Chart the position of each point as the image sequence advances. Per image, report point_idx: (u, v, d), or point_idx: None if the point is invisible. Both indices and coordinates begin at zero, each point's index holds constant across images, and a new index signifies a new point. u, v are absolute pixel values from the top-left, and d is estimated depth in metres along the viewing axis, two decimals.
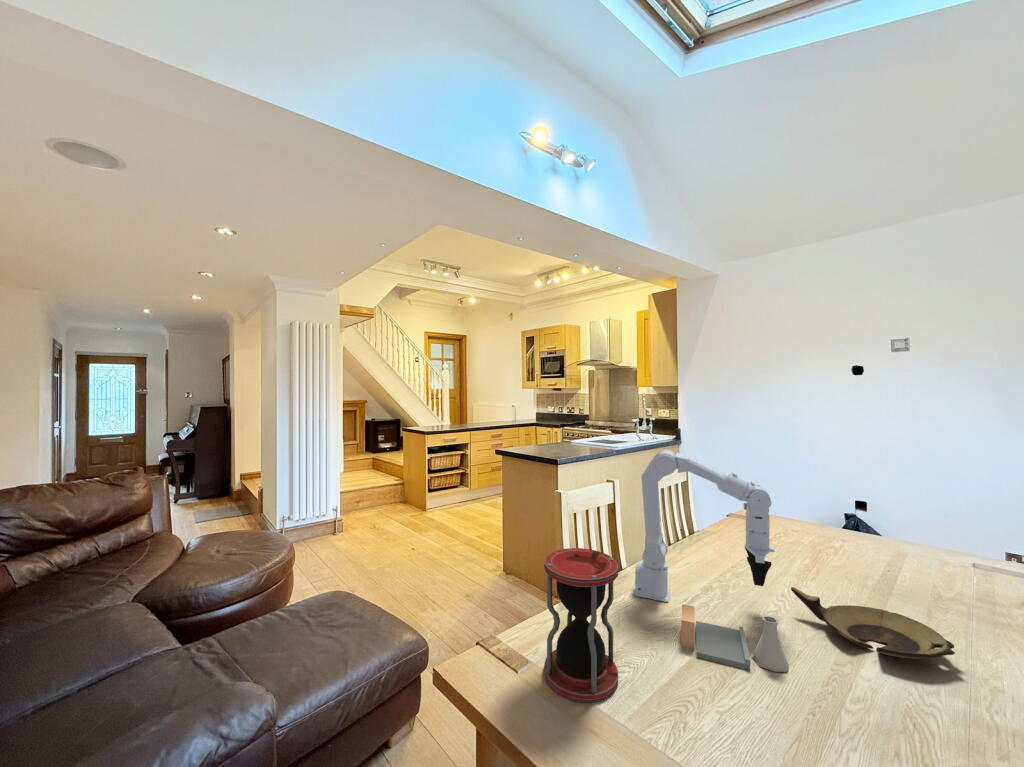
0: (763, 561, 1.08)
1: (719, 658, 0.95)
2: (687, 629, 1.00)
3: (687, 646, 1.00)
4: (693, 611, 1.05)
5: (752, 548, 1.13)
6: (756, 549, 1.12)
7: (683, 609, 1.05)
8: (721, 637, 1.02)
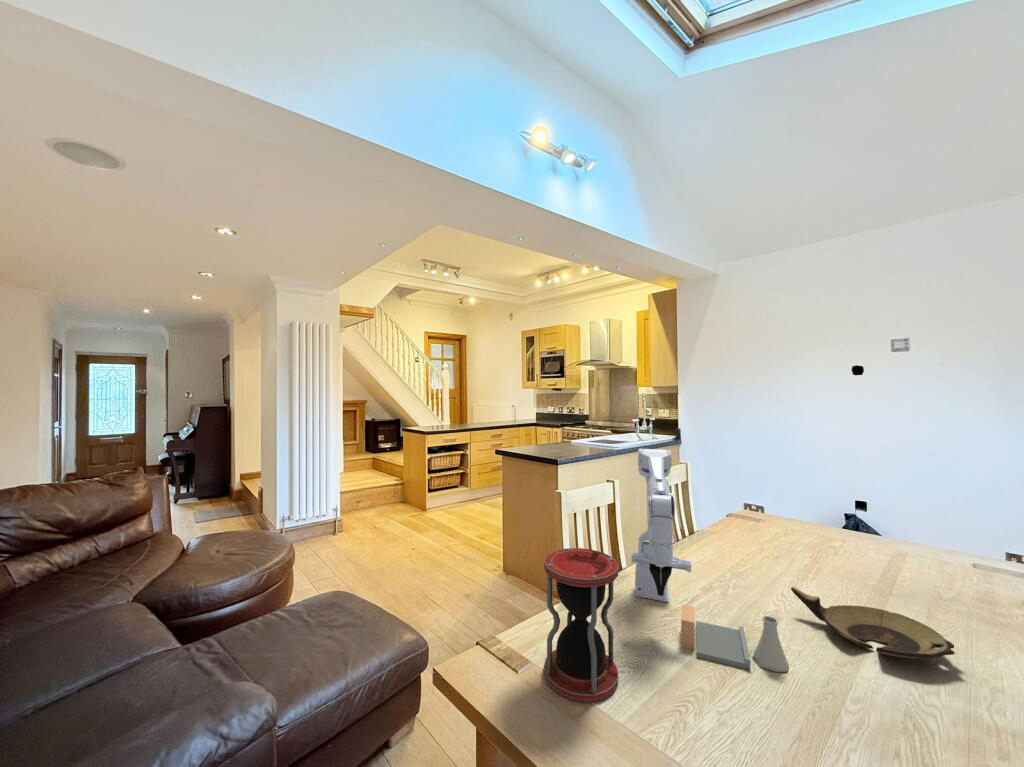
0: (631, 560, 1.09)
1: (719, 658, 0.95)
2: (687, 629, 1.00)
3: (687, 646, 1.00)
4: (693, 611, 1.05)
5: None
6: (649, 555, 1.08)
7: (683, 609, 1.06)
8: (721, 637, 1.02)
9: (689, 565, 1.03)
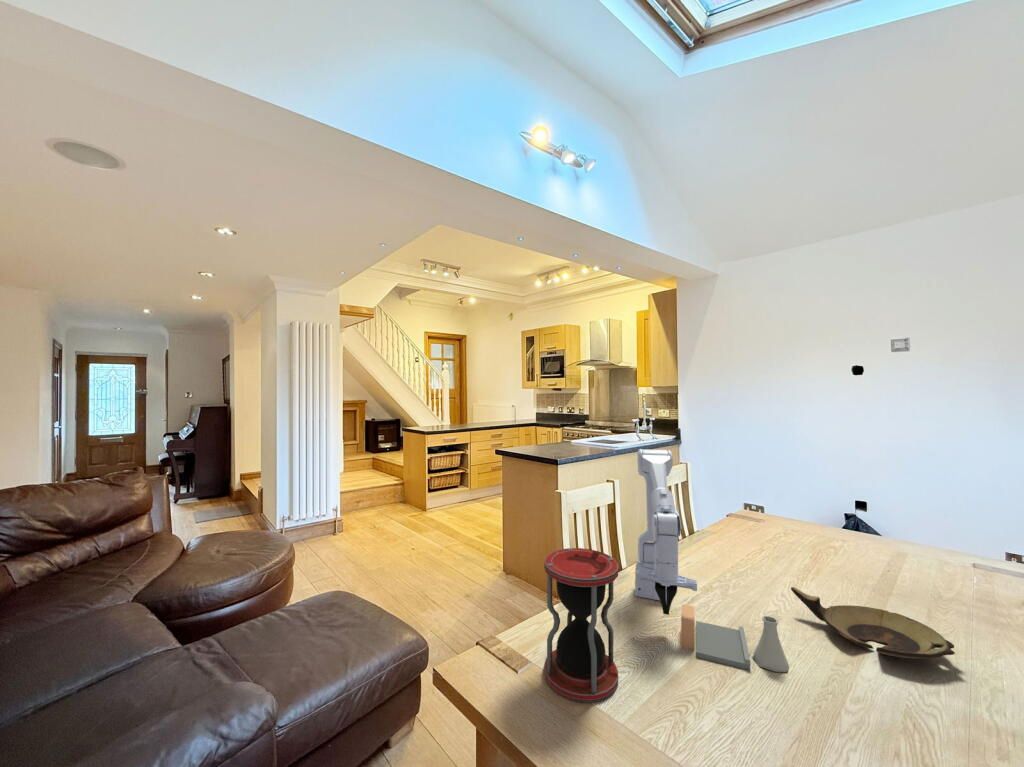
0: (636, 578, 1.08)
1: (719, 658, 0.95)
2: (687, 629, 1.00)
3: (687, 646, 1.00)
4: (693, 611, 1.05)
5: None
6: (654, 573, 1.08)
7: (683, 609, 1.05)
8: (721, 637, 1.02)
9: (695, 584, 1.02)
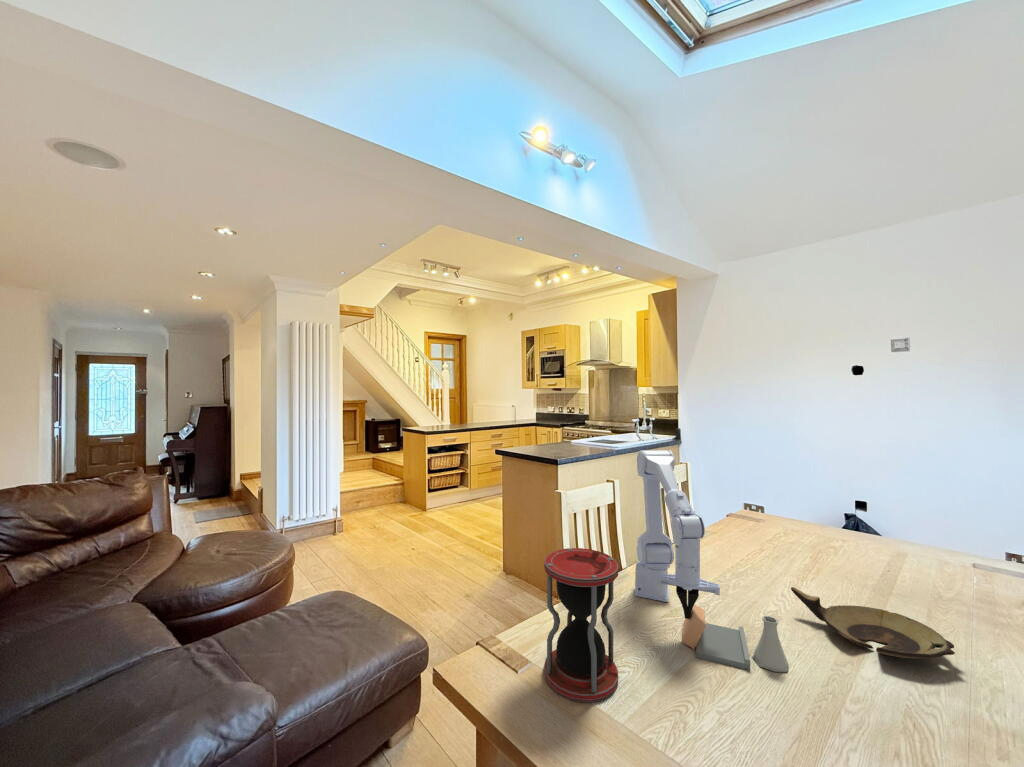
0: (656, 581, 1.06)
1: (719, 658, 0.95)
2: (695, 629, 0.99)
3: (688, 643, 1.00)
4: (703, 614, 1.04)
5: None
6: (675, 577, 1.06)
7: (694, 609, 1.04)
8: (721, 637, 1.02)
9: (717, 588, 1.00)
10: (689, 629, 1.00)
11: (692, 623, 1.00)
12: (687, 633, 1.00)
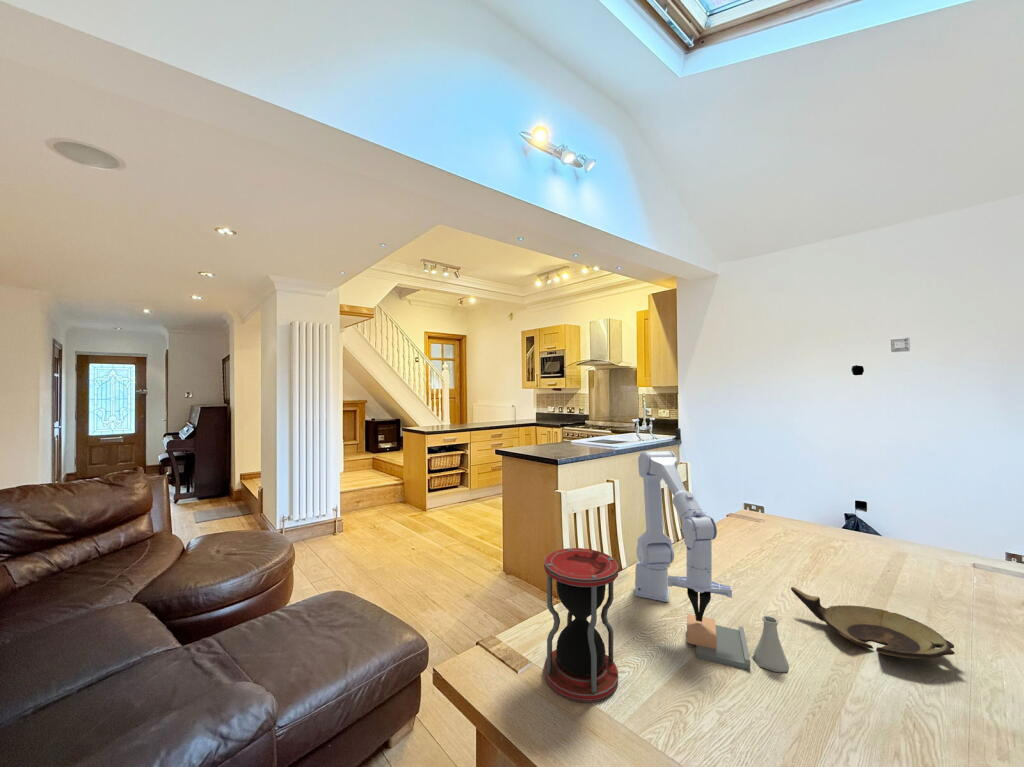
0: (667, 583, 1.05)
1: (719, 658, 0.95)
2: (707, 640, 0.98)
3: (688, 636, 1.00)
4: None
5: None
6: (686, 579, 1.04)
7: (715, 626, 1.03)
8: (721, 637, 1.02)
9: (730, 590, 0.99)
10: (703, 635, 0.99)
11: (711, 637, 0.98)
12: (698, 634, 0.99)
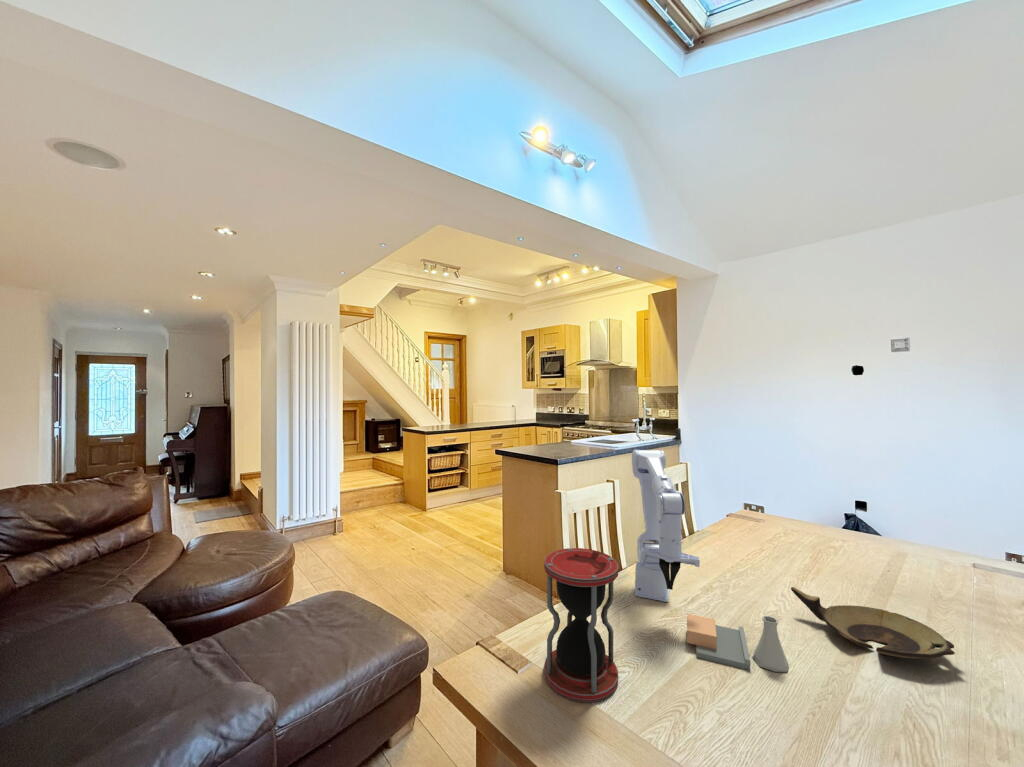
0: (641, 555, 1.13)
1: (719, 658, 0.95)
2: (707, 640, 0.98)
3: (688, 636, 1.00)
4: None
5: None
6: (658, 551, 1.12)
7: (715, 626, 1.03)
8: (721, 637, 1.02)
9: (697, 560, 1.07)
10: (703, 635, 0.99)
11: (711, 637, 0.98)
12: (698, 634, 0.99)
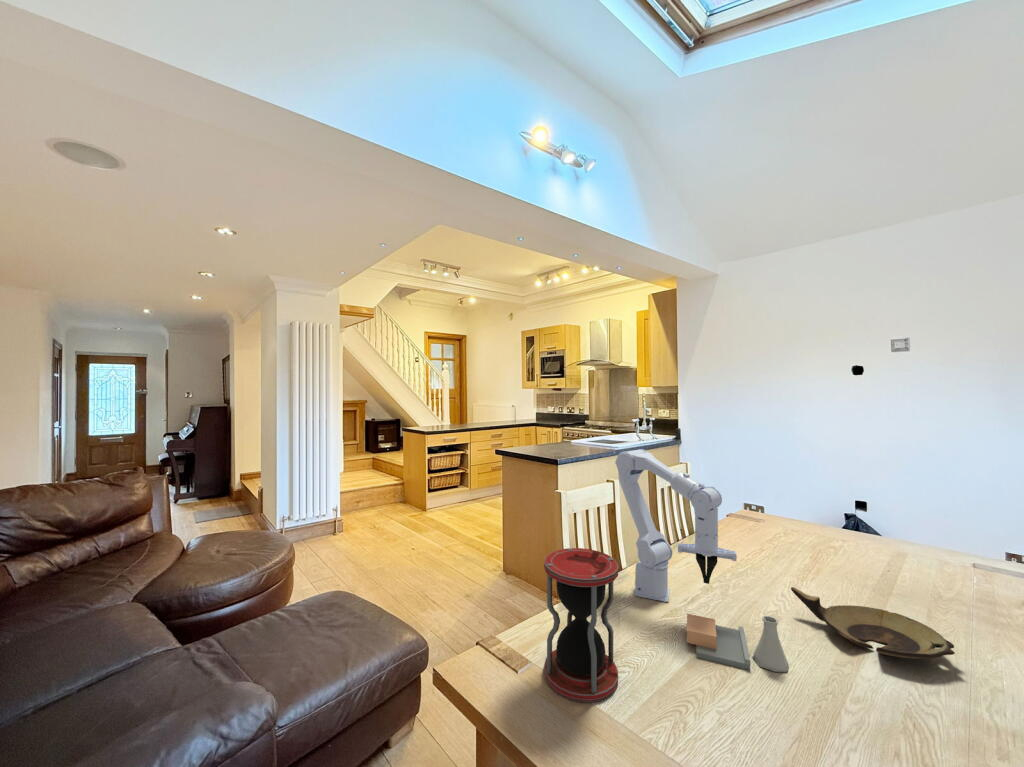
0: None
1: (719, 658, 0.95)
2: (707, 640, 0.98)
3: (688, 636, 1.00)
4: None
5: None
6: (694, 546, 1.15)
7: (715, 626, 1.03)
8: (721, 637, 1.02)
9: (734, 554, 1.09)
10: (703, 635, 0.99)
11: (711, 637, 0.98)
12: (698, 634, 0.99)
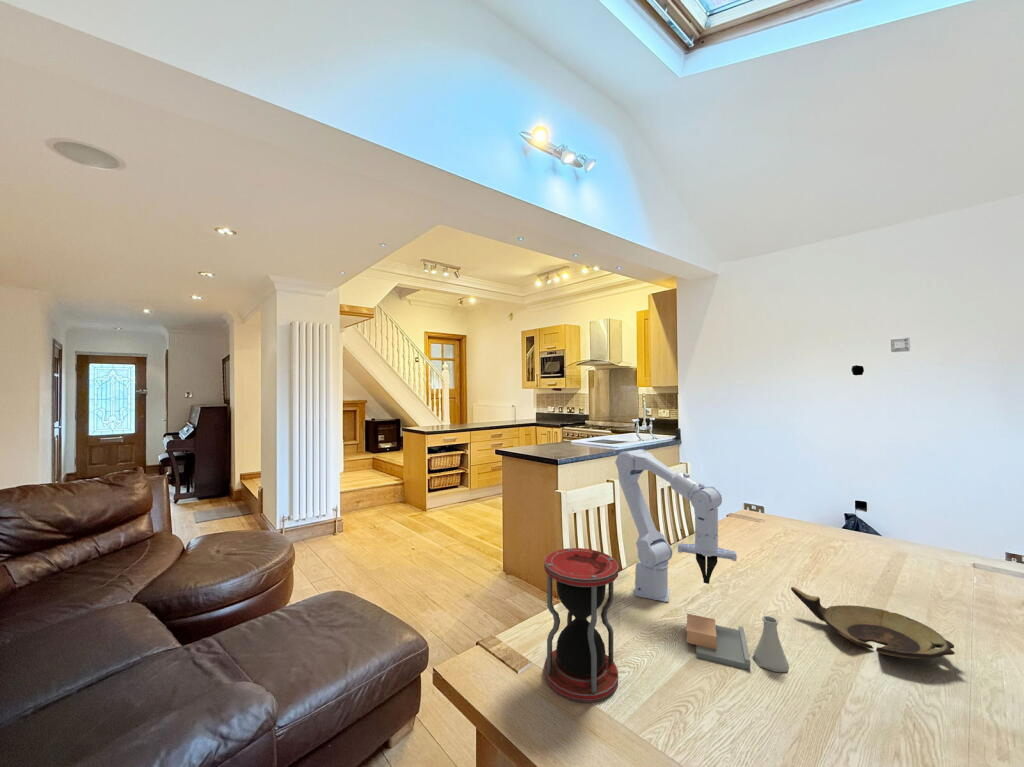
0: None
1: (719, 658, 0.95)
2: (707, 640, 0.98)
3: (688, 636, 1.00)
4: None
5: None
6: (694, 546, 1.15)
7: (715, 626, 1.03)
8: (721, 637, 1.02)
9: (734, 554, 1.09)
10: (703, 635, 0.99)
11: (711, 637, 0.98)
12: (698, 634, 0.99)
